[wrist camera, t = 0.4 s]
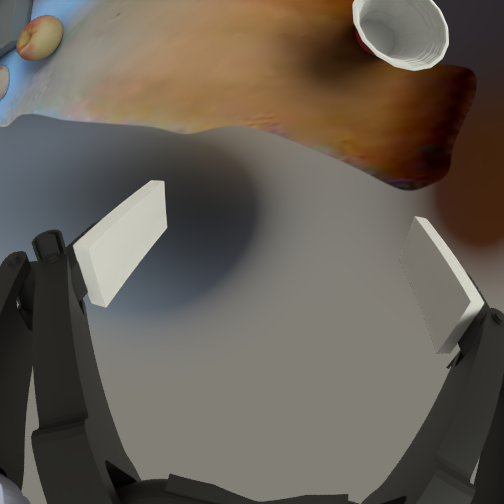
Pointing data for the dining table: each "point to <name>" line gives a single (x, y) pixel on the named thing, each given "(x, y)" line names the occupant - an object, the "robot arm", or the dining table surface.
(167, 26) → the dining table surface
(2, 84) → the teacup with lid
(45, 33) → the apple
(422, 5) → the plastic cup
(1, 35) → the bin
